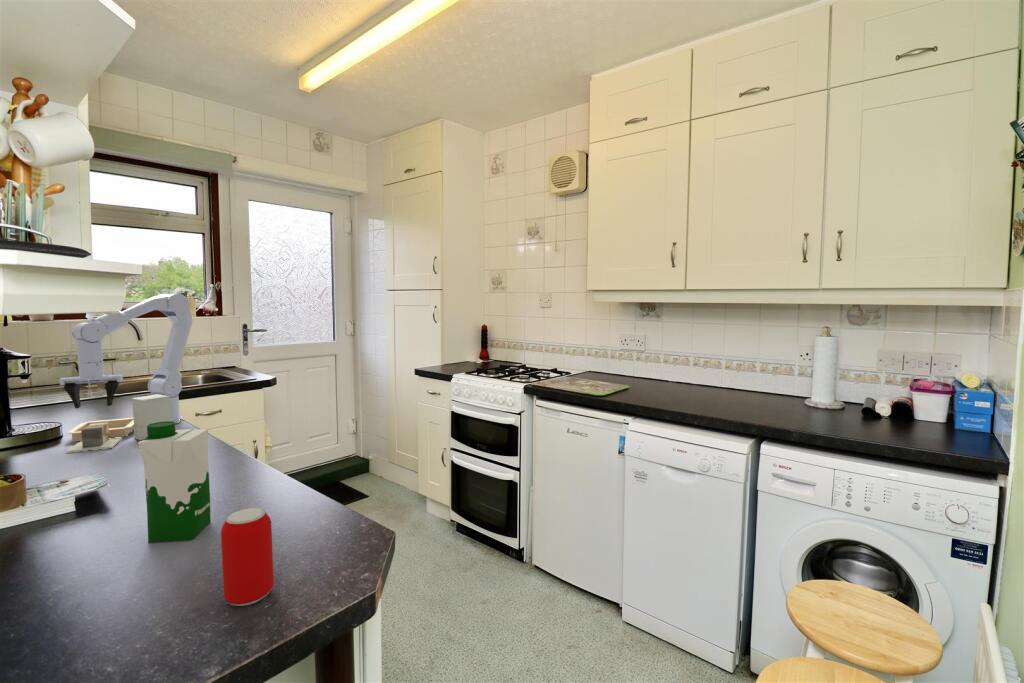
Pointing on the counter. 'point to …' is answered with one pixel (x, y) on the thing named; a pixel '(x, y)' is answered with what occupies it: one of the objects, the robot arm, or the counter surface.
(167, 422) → the milk carton
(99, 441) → the block
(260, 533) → the beverage can
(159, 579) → the counter surface
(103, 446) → the tile
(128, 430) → the wooden tray
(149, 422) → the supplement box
